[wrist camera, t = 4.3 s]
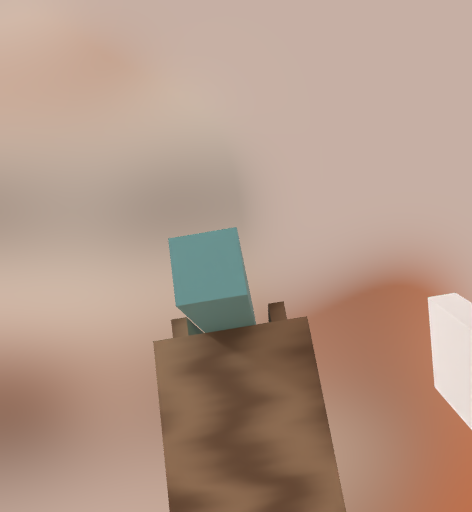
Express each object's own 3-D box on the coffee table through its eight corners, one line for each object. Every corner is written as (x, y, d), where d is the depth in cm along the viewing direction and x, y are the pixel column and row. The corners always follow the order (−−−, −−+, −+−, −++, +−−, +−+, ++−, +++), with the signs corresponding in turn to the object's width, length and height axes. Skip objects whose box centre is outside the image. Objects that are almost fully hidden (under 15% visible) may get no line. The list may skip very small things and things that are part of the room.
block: (176, 306, 20) (168, 238, 21) (227, 352, 44) (222, 320, 45) (247, 294, 20) (236, 227, 21) (259, 347, 44) (254, 315, 45)
